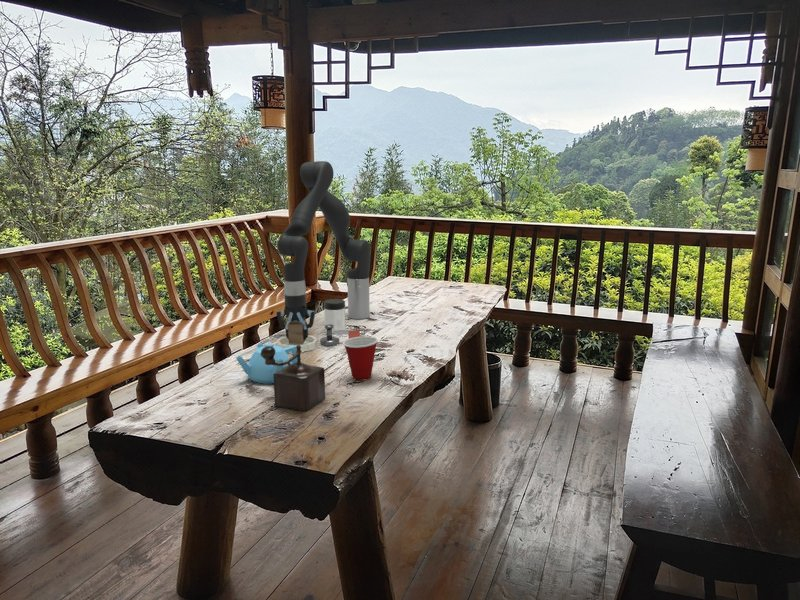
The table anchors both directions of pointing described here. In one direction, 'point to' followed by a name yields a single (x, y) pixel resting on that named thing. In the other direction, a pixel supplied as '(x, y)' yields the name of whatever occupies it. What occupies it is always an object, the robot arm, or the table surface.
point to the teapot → (258, 367)
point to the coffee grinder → (296, 382)
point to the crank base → (329, 337)
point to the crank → (351, 333)
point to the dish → (306, 346)
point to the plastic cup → (361, 356)
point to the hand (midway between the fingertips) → (297, 338)
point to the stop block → (295, 332)
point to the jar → (335, 313)
